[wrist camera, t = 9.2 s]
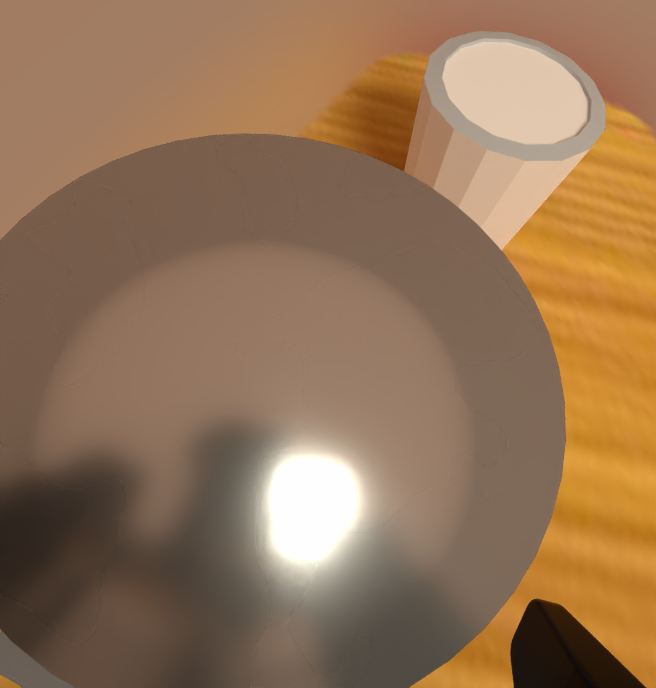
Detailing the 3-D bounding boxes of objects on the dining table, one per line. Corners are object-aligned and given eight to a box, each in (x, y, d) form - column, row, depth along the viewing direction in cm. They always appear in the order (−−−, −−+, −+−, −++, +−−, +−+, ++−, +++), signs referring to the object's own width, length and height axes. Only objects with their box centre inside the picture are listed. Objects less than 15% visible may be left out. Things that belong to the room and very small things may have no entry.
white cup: (353, 201, 25) (385, 68, 19) (450, 141, 28) (505, 6, 22) (458, 302, 24) (532, 190, 17) (551, 228, 26) (644, 107, 20)
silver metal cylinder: (337, 653, 16) (601, 773, 4) (144, 629, 16) (-233, 681, 4) (354, 464, 19) (543, 180, 7) (188, 440, 19) (59, 95, 6)
